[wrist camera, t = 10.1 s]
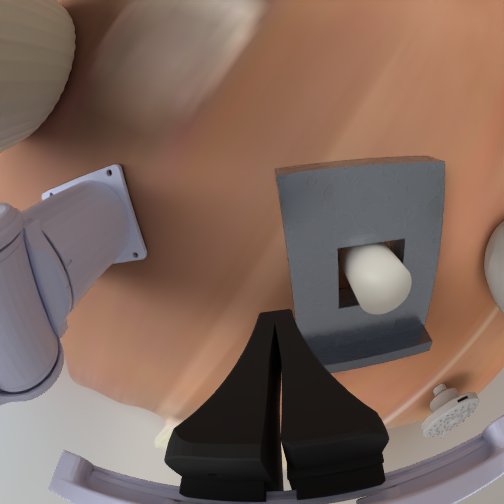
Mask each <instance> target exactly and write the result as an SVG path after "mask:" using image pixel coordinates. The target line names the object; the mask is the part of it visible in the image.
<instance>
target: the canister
mask: <svg viewBox="0 0 504 504" xmlns="http://www.w3.org/2000/svg"><path fill="white" fill-rule="evenodd" d="M74 32H75V26H74V24H73V22H72V18H71V16H70V15H69V14H68V12H67V10H66V9H65V7H63V6H62V5H61V4H60V3H58V2H57V1H56V0H0V153H1V152H3V151H4V150H6V149H8V148H10V147H12V146H14V145H16V144H17V143H19V142H21V141H23V140H24V139H26V138H27V137H28V136H30V135H31V134H32V133H33V132H34V131H36V130H37V129H38V128H39V126H40V125H41V124H42V123H43V122H44V121H45V120H46V119H47V117H48V115H49V114H50V113H51V112H52V111H53V109H54V106H55V104H56V103H57V102H58V101H59V97H60V95H61V93H62V92H63V91H64V87H65V84H66V82H67V81H68V77H69V73H70V71H71V69H72V62H73V59H74V51H75V48H76V45H75V40H76V35H75V33H74Z"/></svg>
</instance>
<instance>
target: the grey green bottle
mask: <svg viewBox="0 0 504 504" xmlns="http://www.w3.org/2000/svg"><path fill="white" fill-rule="evenodd" d="M484 271H485V276H486V280H487V283H488V286H489V289H490V292H491V294H492V296H493V299H494V300H495V302H496V304H497V305H498V307H499V308H500V309H501V311H502V312H503V313H504V221H503V222H502V223H500V224H499V225H498V226H497V227H496V229H495V230H494V232H493V233H492V235H491V237H490V239H489V242H488V245H487V247H486V251H485V258H484Z"/></svg>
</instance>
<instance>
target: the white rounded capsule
mask: <svg viewBox="0 0 504 504" xmlns="http://www.w3.org/2000/svg"><path fill="white" fill-rule="evenodd" d="M340 265H341V267H342V269H343V271H344V273H345V275H346V277H347V279H348V281H349V283H350V285H351V287H352V290H353V292H354V294H355V296H356V298H357V300H358V302H359V304H360V306H361V308H362V309H363V310H364V311H366V312H367V313H370V314H377V315H378V314H384V313H388V312H390V311H392V310H394V309H395V308H397V307H398V306H399V305H400V304H401V303H402V302H403V301H404V300H405V299H406V297H407V296H408V294H409V292H410V289H411V284H412V280H411V275H410V273H409V271H408V270H407V269H406V267H405V266H404V265H403V264H402V263H401V261H400V260H399V259H398V258H397V257H396V256H395V254H394V253H393V252H392V251H391V250H390V249H389V248H388V247H387V245H386V244H385V243H384V242H378V243H371V244H364V245H357V246H351V247H344V248H342V250H341V253H340Z"/></svg>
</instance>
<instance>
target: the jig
mask: <svg viewBox="0 0 504 504" xmlns="http://www.w3.org/2000/svg"><path fill="white" fill-rule="evenodd" d="M275 174H276V181H277V187H278V193H279V200H280V206H281V213H282V219H283V226H284V233H285V240H286V247H287V255H288V262H289V270H290V278H291V286H292V294H293V302H294V311H295V319H296V324H297V326H298V328H299V330H300V332H301V334H302V336H303V337H304V339H305V341H306V342H307V344H308V346H309V347H310V349H311V350H312V351H313V353H314V354H315V356H316V357H317V358H318V360H319V361H320V362H321V363H322V365H323V366H324V367H325V368H326V369H327V370H328V371H329V373H335V372H341V371H346V370H352V369H357V368H362V367H366V366H371V365H375V364H380V363H384V362H388V361H392V360H396V359H400V358H404V357H408V356H411V355H415V354H418V353H422V352H425V351H428V350H430V347H431V344H432V339H431V338H430V336H429V334H428V333H427V331H426V329H425V327H424V325H425V321H426V317H427V313H428V309H429V305H430V301H431V296H432V291H433V286H434V281H435V276H436V270H437V264H438V257H439V250H440V243H441V234H442V224H443V211H444V191H445V161H442V160H439V159H435V158H432V157H429V156H405V157H385V158H369V159H356V160H345V161H334V162H325V163H316V164H307V165H299V166H292V167H285V168H278V169H275ZM385 241H391V251H392V252H393V253H394V254H395V256H396V257H397V258H398V259H399V260H400V261H401V263H402V264H403V265H404V266H405V267H406V269H407V270H408V271H409V273H410V275H411V280H412V284H411V289H410V292H409V294H408V296H407V297H406V299H405V300H404V301H403V302H402V303H401V304H400V305H399V306H398V307H397V308H395V309H394V310H392V311H390V312H388V313H384V314H378V315H377V314H370V313H367V312H366V311H364V310H363V309H362V308H361V306H360V304H359V302H358V300H357V298H356V296H355V294H354V292H353V290H352V288H346V289H340V290H339V283H338V249H337V248H344V247H351V246H357V245H364V244H371V243H378V242H385Z"/></svg>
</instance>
